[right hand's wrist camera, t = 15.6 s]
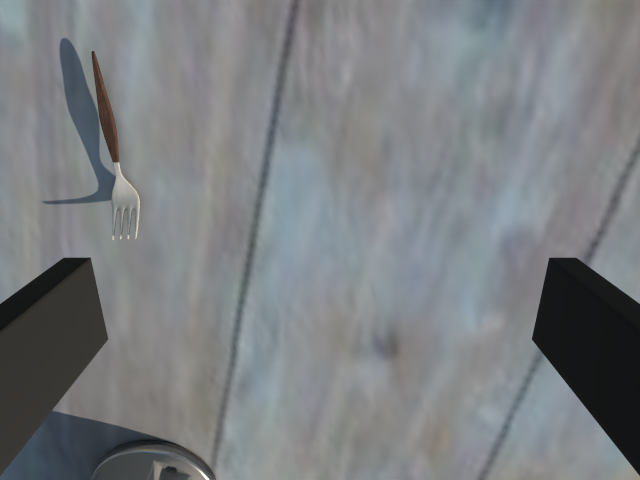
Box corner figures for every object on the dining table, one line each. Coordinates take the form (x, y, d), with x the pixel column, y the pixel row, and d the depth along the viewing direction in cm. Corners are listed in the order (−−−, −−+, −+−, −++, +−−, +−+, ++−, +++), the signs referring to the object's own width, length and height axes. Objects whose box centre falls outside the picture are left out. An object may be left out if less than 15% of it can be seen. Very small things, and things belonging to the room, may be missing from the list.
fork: (111, 51, 35) (100, 49, 33) (146, 231, 41) (138, 239, 39) (80, 52, 35) (67, 51, 34) (119, 232, 41) (109, 240, 39)
